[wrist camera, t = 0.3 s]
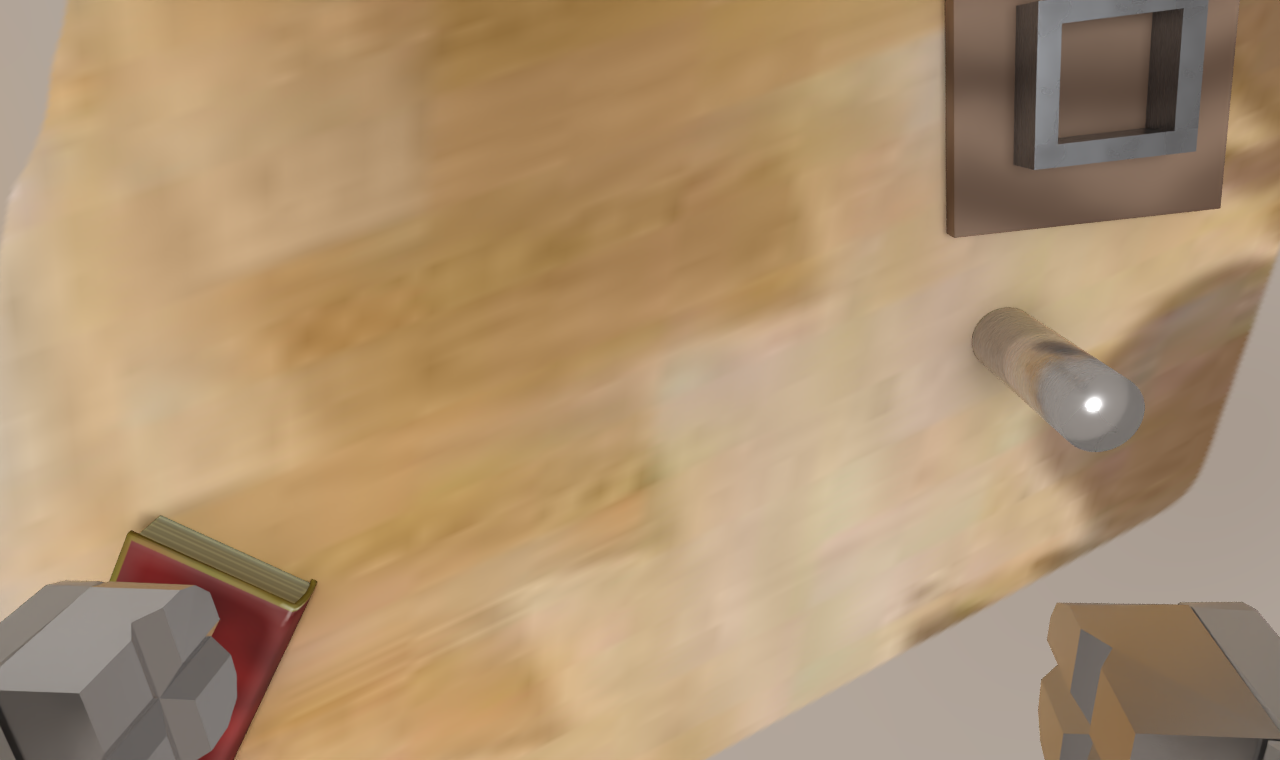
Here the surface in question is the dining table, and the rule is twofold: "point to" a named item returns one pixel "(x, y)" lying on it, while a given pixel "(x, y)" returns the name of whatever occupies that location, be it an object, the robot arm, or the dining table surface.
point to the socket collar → (1169, 82)
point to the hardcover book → (224, 606)
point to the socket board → (1073, 123)
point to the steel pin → (1059, 380)
